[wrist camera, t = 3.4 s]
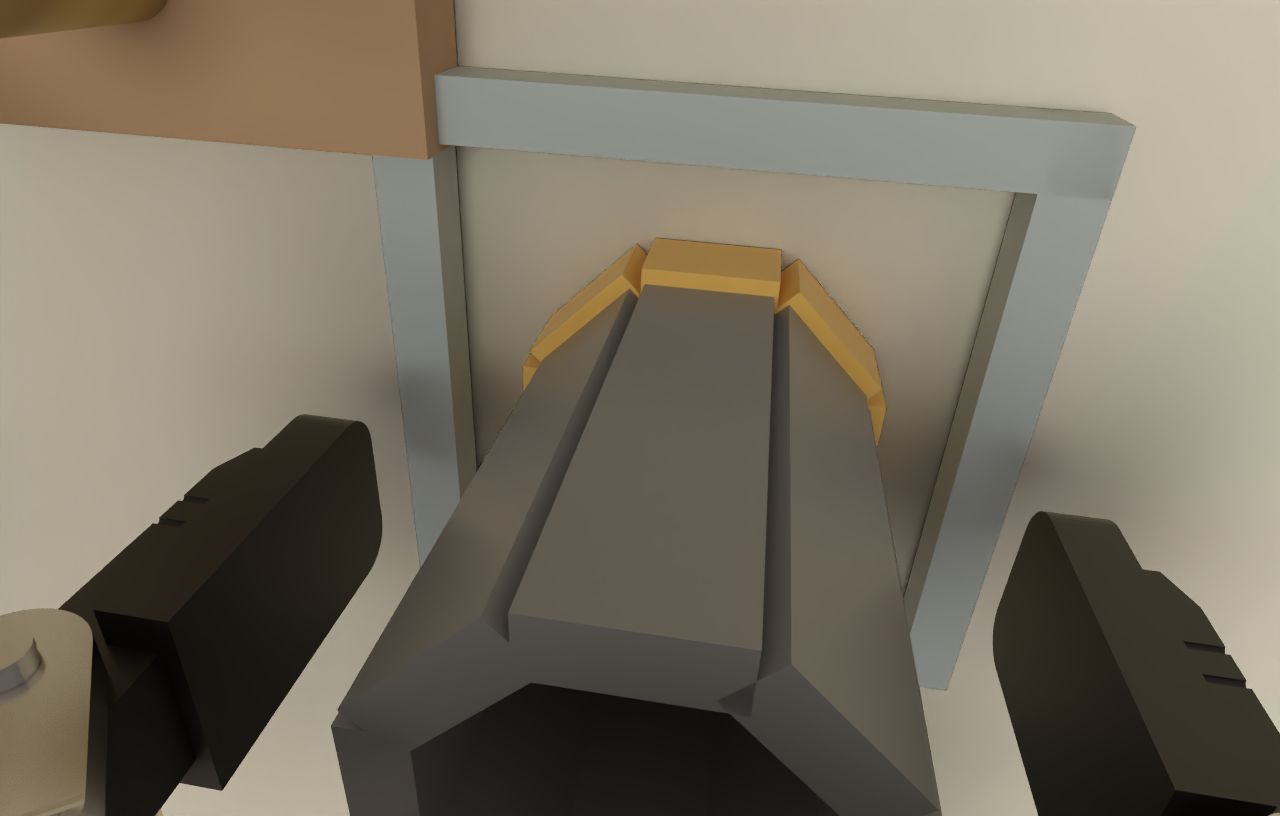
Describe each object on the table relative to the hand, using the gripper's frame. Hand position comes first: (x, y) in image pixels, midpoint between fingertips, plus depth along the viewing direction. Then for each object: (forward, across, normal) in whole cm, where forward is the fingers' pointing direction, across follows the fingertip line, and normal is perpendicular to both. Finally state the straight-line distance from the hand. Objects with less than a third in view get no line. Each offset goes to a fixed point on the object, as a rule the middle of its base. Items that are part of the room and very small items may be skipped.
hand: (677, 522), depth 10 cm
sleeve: (+3, 0, 0) cm, 3 cm away
